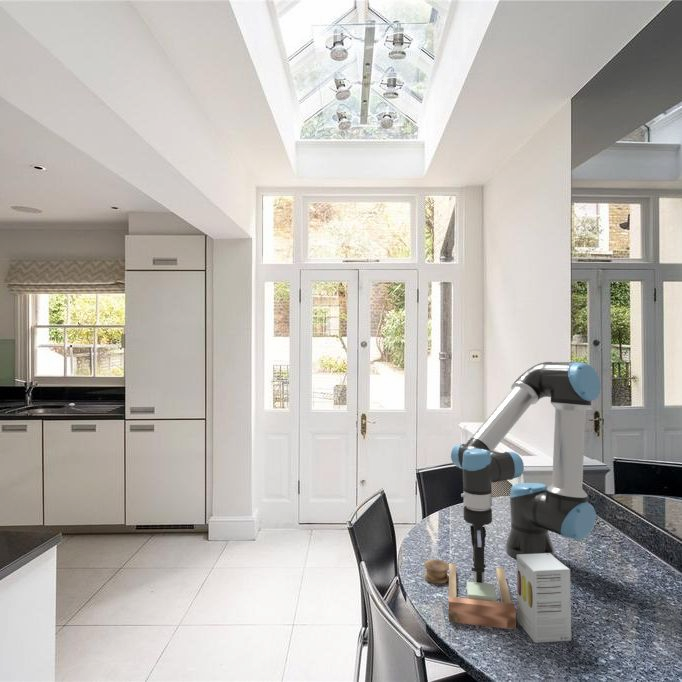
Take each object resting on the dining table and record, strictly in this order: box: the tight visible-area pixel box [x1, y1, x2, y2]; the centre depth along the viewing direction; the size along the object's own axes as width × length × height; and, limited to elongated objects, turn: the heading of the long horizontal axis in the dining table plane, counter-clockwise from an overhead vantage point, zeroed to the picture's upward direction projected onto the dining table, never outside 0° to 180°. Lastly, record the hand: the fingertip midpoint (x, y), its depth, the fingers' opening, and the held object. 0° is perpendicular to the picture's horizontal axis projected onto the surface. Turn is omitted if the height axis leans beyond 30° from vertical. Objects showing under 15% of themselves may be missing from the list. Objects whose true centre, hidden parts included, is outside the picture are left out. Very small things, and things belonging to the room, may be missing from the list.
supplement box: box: [516, 553, 572, 644], centre depth 115 cm, size 10×9×17 cm
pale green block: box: [466, 580, 498, 602], centre depth 123 cm, size 7×7×6 cm
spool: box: [423, 558, 449, 585], centre depth 142 cm, size 7×7×4 cm
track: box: [448, 563, 517, 630], centre depth 130 cm, size 16×28×5 cm, turn 167°
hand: (479, 593), depth 129 cm, fingers closed
